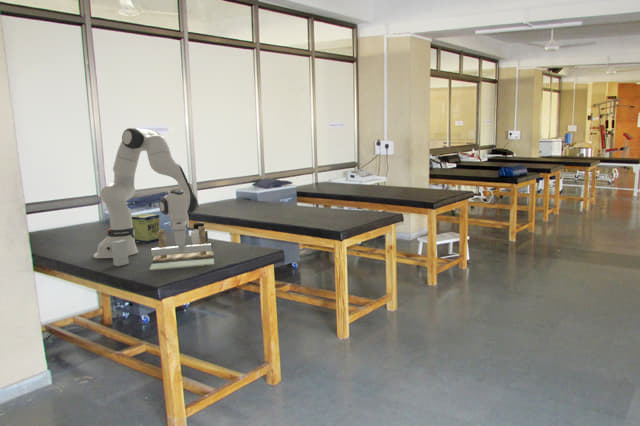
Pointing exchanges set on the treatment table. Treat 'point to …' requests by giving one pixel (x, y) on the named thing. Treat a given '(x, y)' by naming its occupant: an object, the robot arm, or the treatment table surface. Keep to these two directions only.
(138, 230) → the protein box
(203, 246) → the aluminium rail
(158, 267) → the sage mat
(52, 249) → the treatment table surface
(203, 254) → the hook rack
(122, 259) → the skincare box
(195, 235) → the medicine bottle
